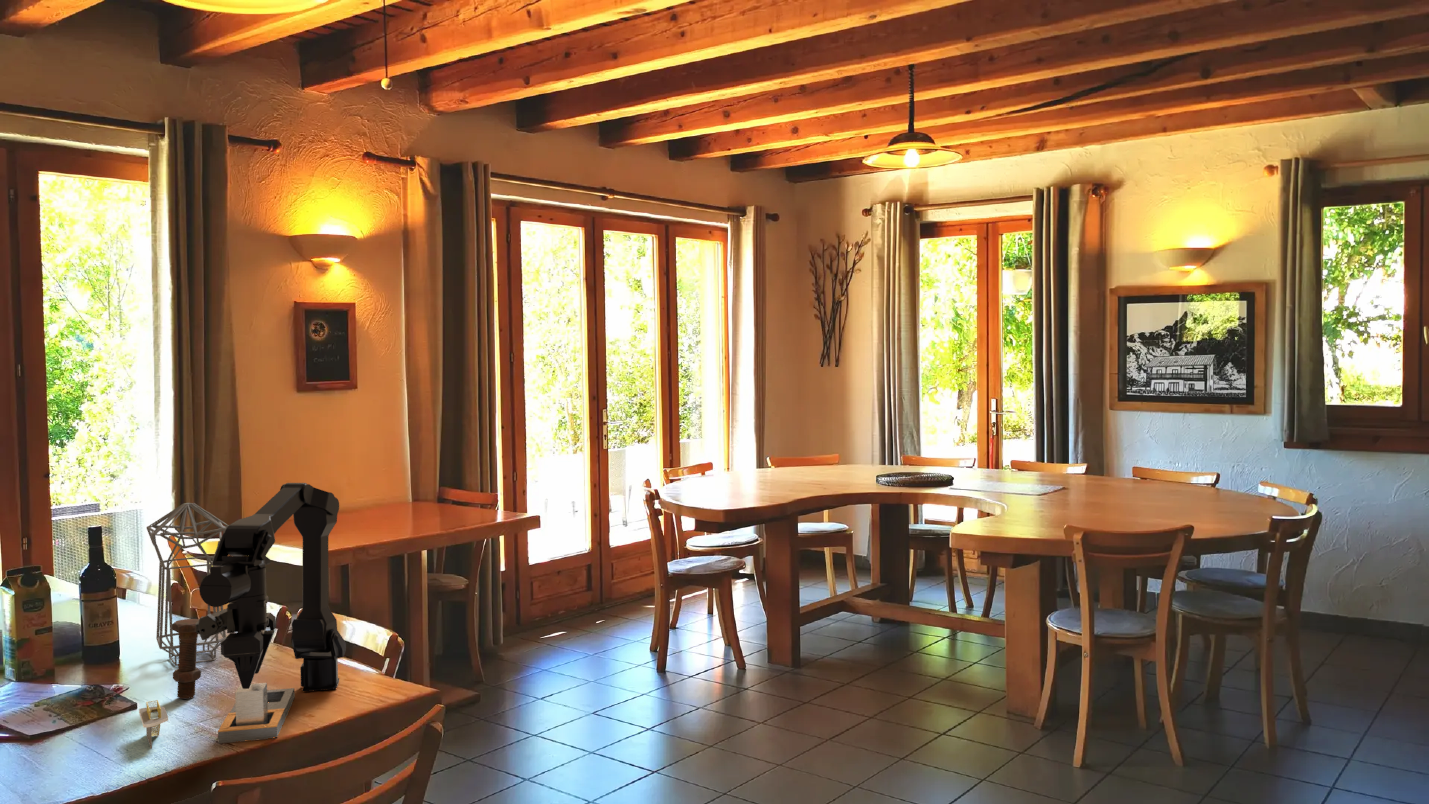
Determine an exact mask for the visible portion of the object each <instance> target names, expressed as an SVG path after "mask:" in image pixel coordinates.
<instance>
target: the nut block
mask: <svg viewBox="0 0 1429 804" xmlns="http://www.w3.org/2000/svg"><path fill="white" fill-rule="evenodd" d="M267 690H268V683H267V682H258V683H257V682H256V683H251V685H250V688H249V689H243V688H242V685H241V684H239V686H238V688H237V689H236V690H235V693H234V694H235V696H234V697H235V698H234V699H235V703H236V727H237V726H248V725H259V724H268V704H267Z"/></svg>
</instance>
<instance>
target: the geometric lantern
mask: <svg viewBox="0 0 1429 804" xmlns="http://www.w3.org/2000/svg"><path fill="white" fill-rule="evenodd" d="M192 510H194V511H195V512H196V513H197V514H199V515H201V516H202V517H204V518H205V519H206V520H205V521H200V522H196V520H195V517H194V514H193V511H192ZM187 513H188V515H189V520H190V523H191V525H190V526H185V524H186V519H187V518H186V517H187ZM181 514H182V516H181ZM180 516H181V519H180V523H179V525H173V523H174V522H176V520H177V519H178V518H179V517H180ZM169 523H170V524H169ZM167 524H169V525H167ZM212 524H214V525H215V526H216V527H218V528H215V529H210V530H206V529H207V528H208V527H209V526H210V525H212ZM223 524H224V525H223ZM201 525H204V526H203V527H202V528H201V529H200V530H198V531H197V528H198V527H197V526H201ZM229 525H230V524H227V523H226V522H224V521H223V520H221V519H219V518H218V517H216V516H215V515H213V514H212V513H211V512H209V511H207V510H205V509H204V508H202V506H199V505H198V504H196V503H195V502H193V503H192V502H186V503H182V504H181V505H179V506H177V507H176V508H174V509H173V510H171V511H170V512H168V513H166V514H165V515H163V516H161V517H160V518H159V519H157V520H155V521H154V522H152V523H151V524H150V525H148V526H146V530H147V533H148V536H149V539H150V541H151V543H152V545H153V547H154V549H155V552H156V555H157V558H158V561H159V566H158V567H159V568H158V570H159V571H158V589H157V591H158V593H157V614H156V615H157V616H156V617H157V618H156V642H157V644H158V645H157V646H158V648H159V649H160V650H163V651H165V652H166V653H167V654H168V658H169V660H170V661H171V662H172V664H173V665H174V666H176V667H179V666H178V664H179V663H178V658H179V651H178V650H177V649H179V645H180V644H177V645H174V636H175V637H176V636H179V633H178V632H174V630H172V624H173V608H172V607H173V606H172V604H173V603H172V582H171V581H172V578H171V577H172V576H171V570H175V569H186V568H196V567H197V568H198V567H206V576H208V575H209V574H210V568H211V567H212V566H214V565H213V561H214V558H215V555H216V552H217V550H218V547H219V544H220V541H221V539H222V536H223V534H224V532H225V530H226V528H227V527H228V526H229ZM168 529H180V531H179V532H171V531H168ZM189 529H191V530H192V529H193V530H192V531H184V530H189ZM211 533H212V534H211ZM206 534H210V535H209V536H207V537H206V538H204V539H202V540H200V539H199V536H201V535H206ZM184 535H185V536H184ZM186 535H193V536H186ZM216 535H218V539H219V541H218V542H217V545H216V546H217V547H216V550H215V551H214V554H213V555H211V556H210V555H208V554H207V551H205V549H204V547H203V546H202V544H203V543H205V542H207V541H208V540H210V539H212V538H213V537H215V536H216ZM157 536H160V537H161V538H162V539H163V538H164V539H165V540H167V541H168V542H170V543H172V544H173V545H174V547H173V548H172V550H171V552H170V554H169V557H168V559H166V560H165V559H163V557H162V554H161V551H160V549H159V546H158V544H157V539H156V538H157ZM168 536H172V537H174V538H177V540H173V539H172V538H170V537H168ZM195 539H196V540H195ZM185 540H192V541H193V542H194V544H188V545H186V542H185ZM199 540H200V541H199ZM180 541H181V542H182V544H180ZM177 547H179V549H178V550H177V552H176V553H175V551H176V549H177ZM193 547H198V549H199V550H200V552H202V553H203V556H193V557H185V558H176V557H177V556H178V555H179V553H180V552H181V550H182V549H190V548H193ZM174 553H175V554H174ZM173 555H174V556H173ZM172 557H173V558H172ZM195 559H206V564H196V565H195V564H193V565H183V566H182V565H181V566H173V567H172V566H171V567H170V565H171V564H172V563H173V562H175V561H187V560H195ZM165 563H166V564H165ZM165 576H166V577H165ZM164 601H165V602H164ZM164 603H165V605H164ZM164 607H165V608H164ZM164 609H165V610H164ZM221 610H224V605H223V606H220V607H212V611H213V613H216V612H218V611H221ZM164 612H165V613H164ZM213 613H212V614H213ZM208 614H211V606H209V605H208V604H207V615H208ZM168 616H169V617H168ZM168 618H169V625H168ZM163 624H164V625H163ZM163 626H164V627H163ZM168 626H169V633H168ZM163 628H164V634H163ZM173 632H174V633H173ZM219 634H220V635H221V636H222V637H221V638H220V639H219ZM226 634H227V631H226V630H225V631H222V632H220V633H217V634H215V635H213V637H212V638H211V639H210V640H209V641H208V639H205V640H204V642H203V641H202V642H197V647H198V646H202V650H197V654H196V655H198V654H206V653H209V654H210V655H211V659H204V660H196V664H201V663H206V662H207V663H208V662H215V660H217V649H218V648H219V647H221V643H222V642H223V640H224V639H225V638H226V637H227V636H226ZM164 638H165V640H167V643H168V644H166V643H165V641H163V639H164ZM169 638H170V640H169ZM214 644H215V645H214ZM205 645H207V650H205V649H206V648H205ZM213 645H214V646H213ZM210 648H211V649H210ZM177 657H178V658H177ZM173 658H174V659H173Z"/></svg>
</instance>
